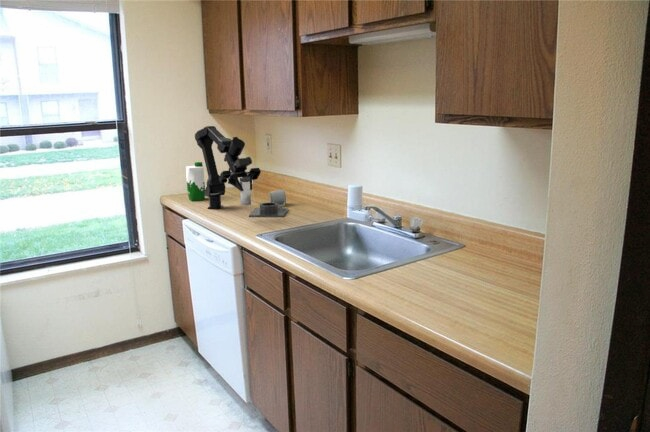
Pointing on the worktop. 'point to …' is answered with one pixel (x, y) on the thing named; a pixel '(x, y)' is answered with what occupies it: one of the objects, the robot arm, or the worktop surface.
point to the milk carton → (195, 182)
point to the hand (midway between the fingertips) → (246, 190)
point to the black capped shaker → (245, 190)
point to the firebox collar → (268, 211)
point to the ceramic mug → (277, 197)
